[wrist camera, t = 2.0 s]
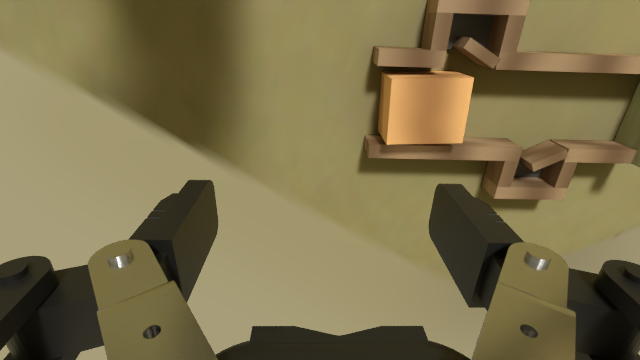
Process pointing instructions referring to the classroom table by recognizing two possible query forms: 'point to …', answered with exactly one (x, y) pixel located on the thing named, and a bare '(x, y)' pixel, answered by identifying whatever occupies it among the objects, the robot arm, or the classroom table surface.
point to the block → (424, 107)
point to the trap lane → (500, 54)
